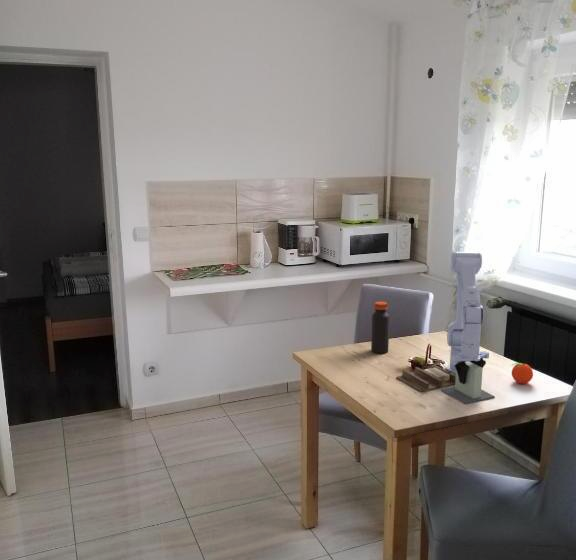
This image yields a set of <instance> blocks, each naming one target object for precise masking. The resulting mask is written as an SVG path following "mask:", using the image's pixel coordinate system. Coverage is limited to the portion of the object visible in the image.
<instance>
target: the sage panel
mask: <svg viewBox="0 0 576 560" xmlns="http://www.w3.org/2000/svg"><path fill="white" fill-rule="evenodd" d="M465 363H466V365H468V366H469V368H468V371H467V375H466V383H465V384H462V383H460V382H459V377H458V373H457V370H456V374H455V375H456V380H455V385H454V387H455V389H457V390H458V391H460V392H462V393H464V394H466V395H468V396H470V397H471V398H473V399H474V398H478V397H481V389H482V386H483V385H482V383H483V382H482V381H483V369H484V367H483V368H482V367H480V366H477V365H475V364H473V363H471V362H469V361H467V362H465Z"/></svg>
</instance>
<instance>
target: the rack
mask: <svg viewBox="0 0 576 560" xmlns="http://www.w3.org/2000/svg"><path fill="white" fill-rule="evenodd" d="M432 366H433V368H437V369H439V370H441V371H443V372H445V373H447V374H449V375H450V380H448V381H444V382H443V380H441V379H439V378H437V377H435V376H433V375H431V374H429V373H428V372H426V371H424V369H421V368H420V367H417V366H415V367H414V372H410V371H408V370H407V369H402V370H401V371H402V373H401V375H397V376H396V379H397V380H399V381H400V382H402V383H404V384H406V385H408V386H410V387H411V388H412V389H414V390H416V391H418V392H419V393H424V392H428V391H433V390H437V389H444V388H449V387H453V386H455V380H456V374H455V373H453V372H451V371H449V370H447V369H445V368H442V367H440V366H438V365H435V364H434V365H432Z"/></svg>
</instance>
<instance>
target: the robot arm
mask: <svg viewBox="0 0 576 560" xmlns="http://www.w3.org/2000/svg"><path fill="white" fill-rule="evenodd" d="M482 262H483V255H482V253H481V251H455V250H454V251H453V252H452V253H451V259H450V272H451V274H453V275H454V276H456V280H457V283H456V284H457V285H456V286H457V287H456V315H455V316H456V318H455V320H454V321H452V322H451V323H449V324H448V325H447V333H446V343H447V345H448V346H449V347H450V353H449V354H450V358H449V366H445V367H444V370H446V371H448V372H450V373H452V374H454V375H456V370H457V373H458V377H459V382H460V383H462V384H465V383H466V375H467V371H468V368H469V366H468V365H466V363H465V362H467V361H469V362H471V363H473V364H475V365H477V366H480V367H482V368H483V369H484V367H485V366H486V364H487V362H486V360H487V359H489V358H490V352H488V351H486V350H483V351H480V347H481V330H482V325H483V324H484V319H485V313H484V312H485V311H484V307H483V304H482V302H481V296H480V295H481V294H480V290H479V289H478V288H477V287H476V275H477V274H479V272H480V270H481V268H482V265H483V263H482ZM484 359H486V360H484Z"/></svg>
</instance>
